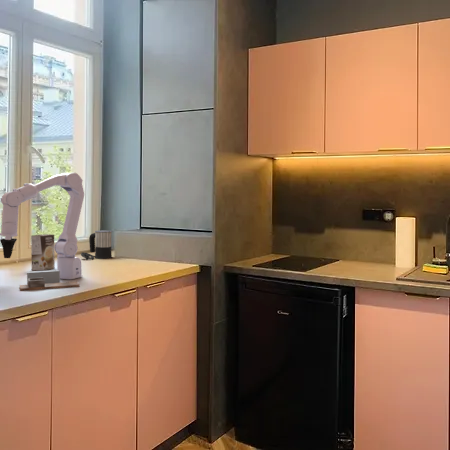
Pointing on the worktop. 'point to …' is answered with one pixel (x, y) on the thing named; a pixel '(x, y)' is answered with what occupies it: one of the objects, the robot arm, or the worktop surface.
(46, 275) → the rail
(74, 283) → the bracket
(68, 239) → the robot arm
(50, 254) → the coffee box
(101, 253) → the milk frother
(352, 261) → the worktop surface
